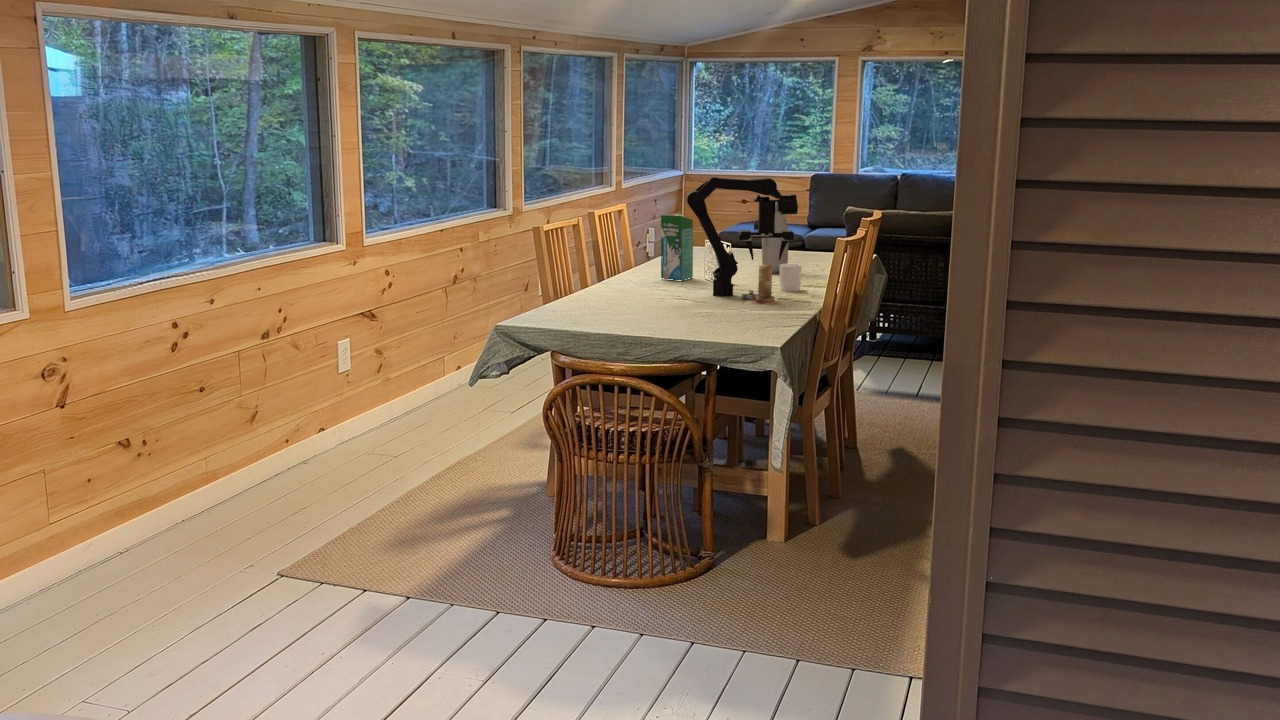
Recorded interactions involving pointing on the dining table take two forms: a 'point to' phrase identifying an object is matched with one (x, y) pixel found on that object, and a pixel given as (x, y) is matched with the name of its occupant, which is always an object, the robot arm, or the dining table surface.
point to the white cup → (790, 277)
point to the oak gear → (765, 285)
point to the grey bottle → (775, 245)
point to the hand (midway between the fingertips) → (766, 260)
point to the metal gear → (749, 296)
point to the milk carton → (676, 247)
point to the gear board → (760, 303)
